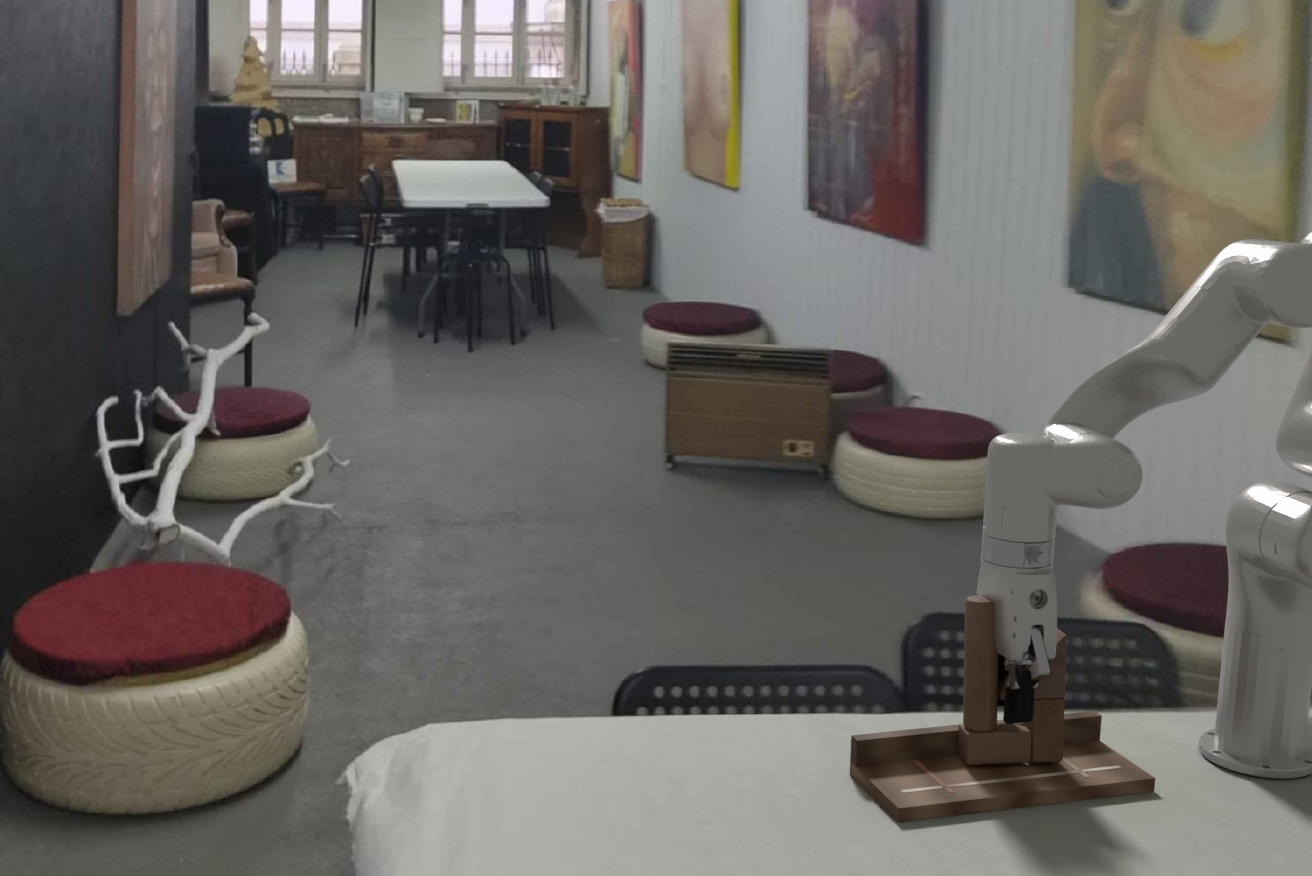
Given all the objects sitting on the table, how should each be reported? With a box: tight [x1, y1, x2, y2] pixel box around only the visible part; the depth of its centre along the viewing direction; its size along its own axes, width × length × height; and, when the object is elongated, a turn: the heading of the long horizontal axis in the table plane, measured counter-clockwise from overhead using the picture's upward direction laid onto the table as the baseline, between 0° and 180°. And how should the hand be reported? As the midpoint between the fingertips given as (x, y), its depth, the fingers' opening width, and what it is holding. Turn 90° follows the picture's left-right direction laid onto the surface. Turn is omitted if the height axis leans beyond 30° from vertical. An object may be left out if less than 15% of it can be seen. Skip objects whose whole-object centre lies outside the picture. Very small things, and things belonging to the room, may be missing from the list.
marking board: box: [849, 710, 1156, 823], centre depth 160 cm, size 30×12×4 cm, turn 106°
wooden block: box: [958, 594, 1068, 765], centre depth 160 cm, size 4×11×18 cm, turn 95°
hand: (1006, 712), depth 161 cm, fingers closed on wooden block, 4 cm apart
